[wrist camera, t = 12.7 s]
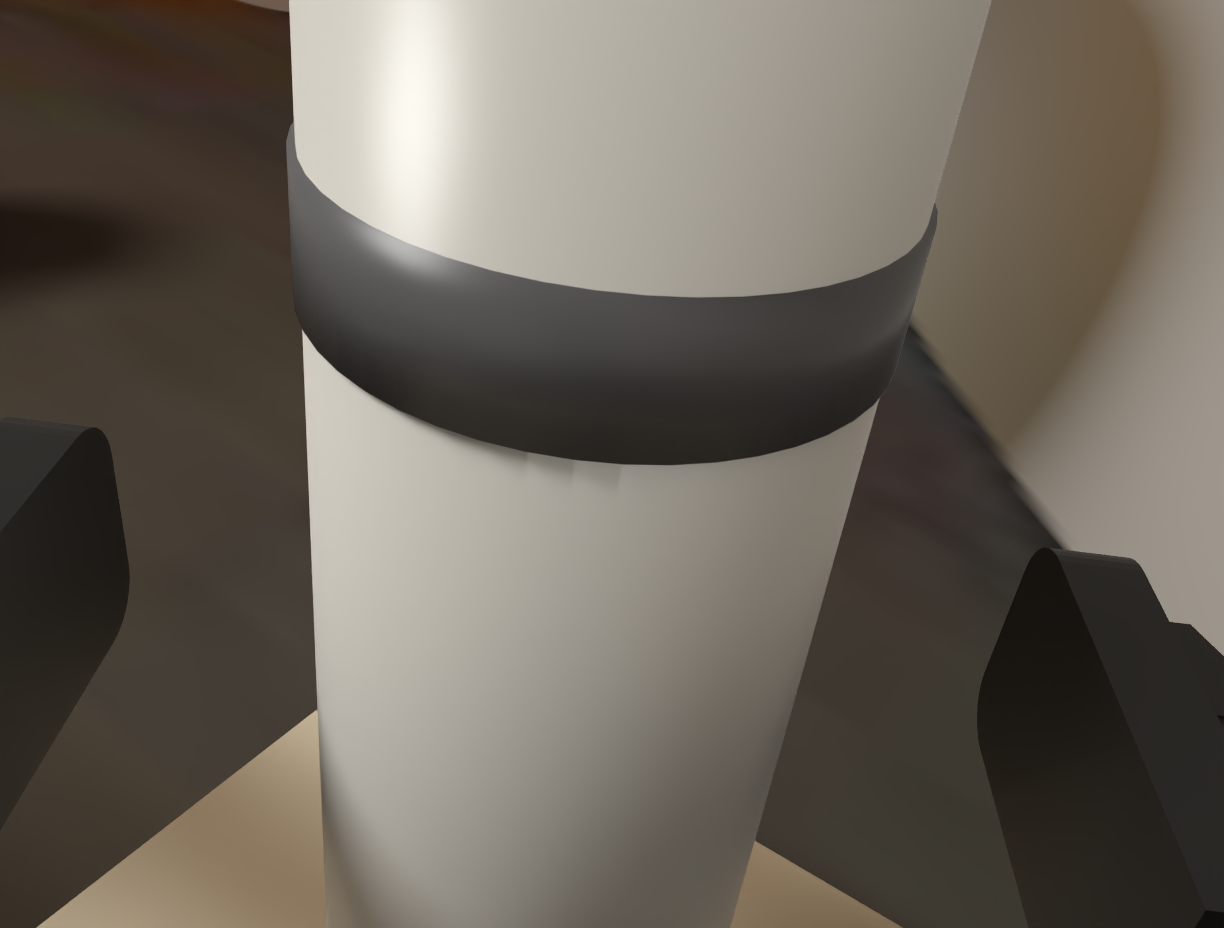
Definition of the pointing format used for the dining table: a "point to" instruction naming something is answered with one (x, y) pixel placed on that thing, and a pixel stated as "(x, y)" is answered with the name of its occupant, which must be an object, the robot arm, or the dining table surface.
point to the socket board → (294, 863)
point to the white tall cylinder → (589, 421)
